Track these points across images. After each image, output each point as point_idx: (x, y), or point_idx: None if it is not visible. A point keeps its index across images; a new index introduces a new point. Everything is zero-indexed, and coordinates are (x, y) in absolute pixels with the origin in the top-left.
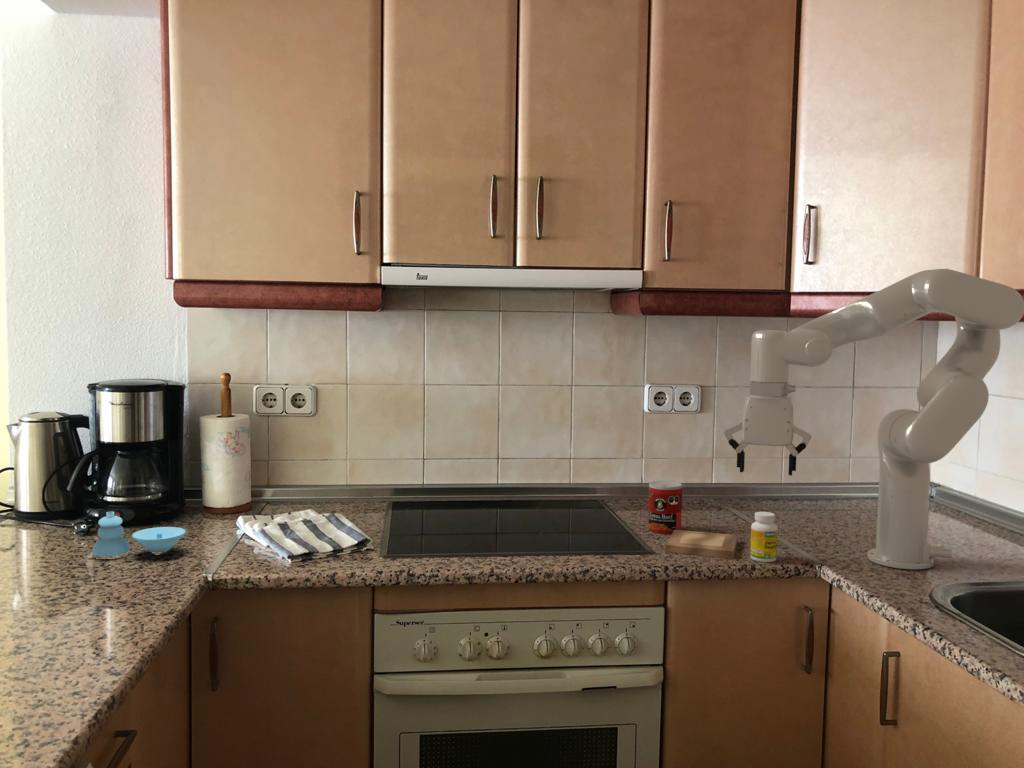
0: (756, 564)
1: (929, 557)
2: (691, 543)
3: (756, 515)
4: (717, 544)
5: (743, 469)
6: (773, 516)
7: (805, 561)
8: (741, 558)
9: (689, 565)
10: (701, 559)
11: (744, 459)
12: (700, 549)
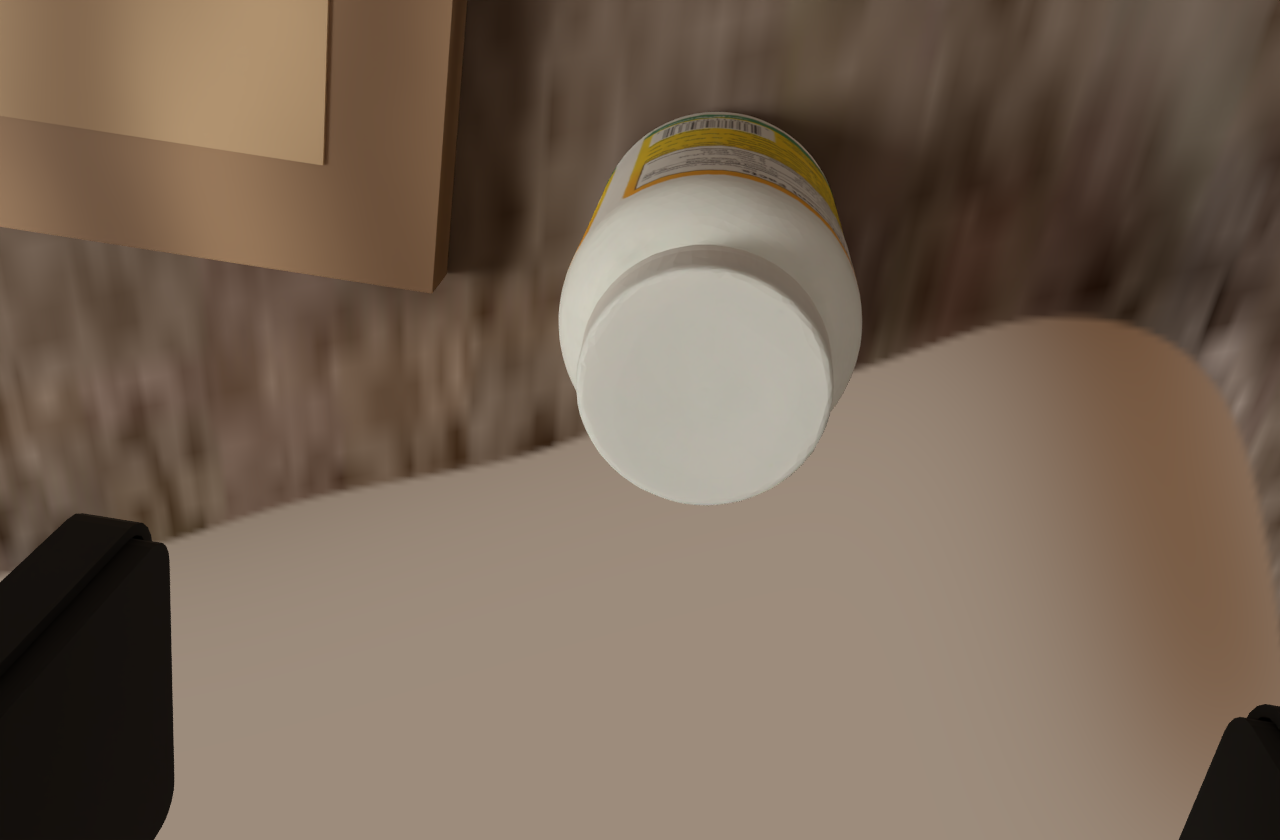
0: None
1: None
2: (24, 97)
3: (592, 440)
4: (274, 81)
5: (151, 823)
6: (804, 459)
7: (1098, 232)
8: (521, 250)
9: None
10: (189, 347)
11: (29, 718)
12: (139, 245)
